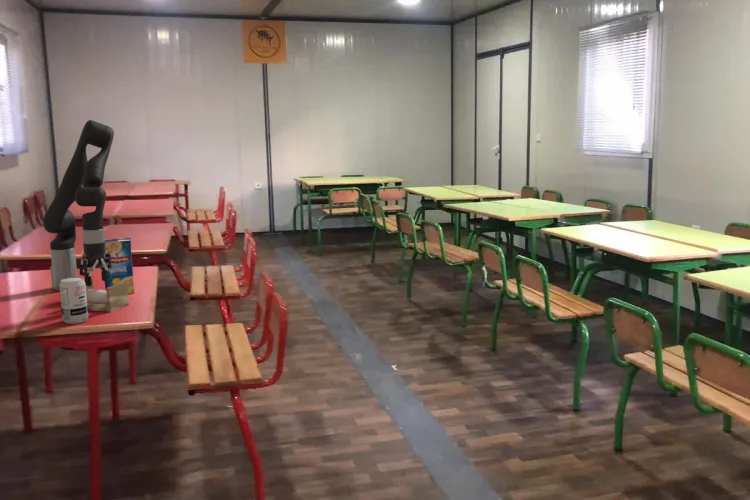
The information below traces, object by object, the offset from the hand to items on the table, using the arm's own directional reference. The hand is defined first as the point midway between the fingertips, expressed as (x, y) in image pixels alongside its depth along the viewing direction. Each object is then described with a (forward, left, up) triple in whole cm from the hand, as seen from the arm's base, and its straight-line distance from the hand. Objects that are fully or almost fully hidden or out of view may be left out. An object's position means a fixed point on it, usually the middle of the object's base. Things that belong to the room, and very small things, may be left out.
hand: (97, 283), depth 253 cm
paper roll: (+1, +1, -8) cm, 8 cm away
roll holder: (+1, +1, -9) cm, 9 cm away
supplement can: (+5, -17, -10) cm, 20 cm away
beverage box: (-6, +21, -10) cm, 24 cm away
